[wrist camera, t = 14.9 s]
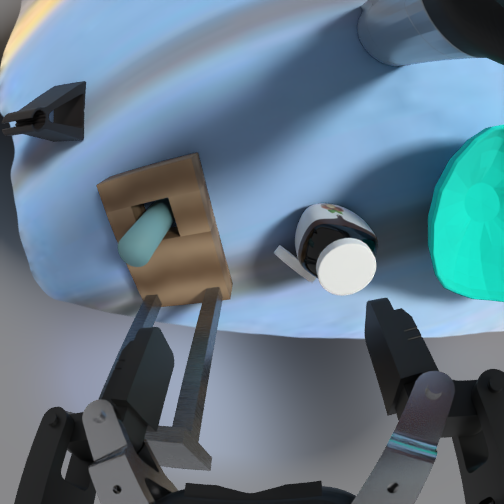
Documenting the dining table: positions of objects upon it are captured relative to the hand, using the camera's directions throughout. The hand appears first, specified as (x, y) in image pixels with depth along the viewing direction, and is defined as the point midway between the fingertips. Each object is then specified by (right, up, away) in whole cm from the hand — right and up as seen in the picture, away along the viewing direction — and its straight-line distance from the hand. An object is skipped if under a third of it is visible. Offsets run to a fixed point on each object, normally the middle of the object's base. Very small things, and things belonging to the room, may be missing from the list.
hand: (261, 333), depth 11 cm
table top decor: (+38, +12, +27) cm, 48 cm away
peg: (-13, +9, +30) cm, 34 cm away
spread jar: (+9, +5, +31) cm, 33 cm away
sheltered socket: (-12, +6, +32) cm, 35 cm away
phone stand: (-27, +24, +22) cm, 43 cm away
